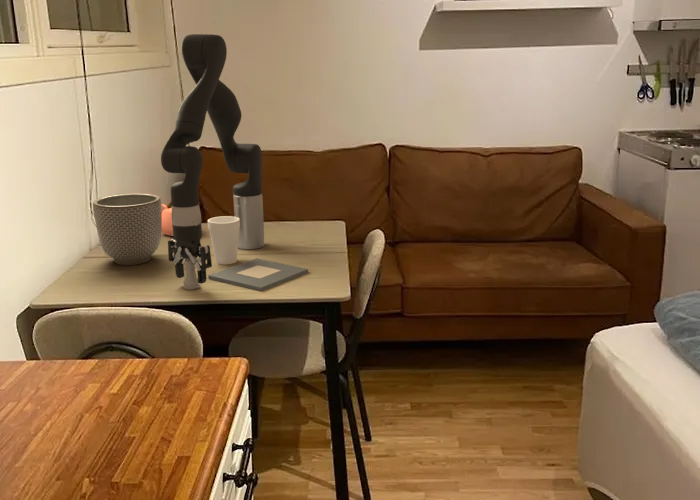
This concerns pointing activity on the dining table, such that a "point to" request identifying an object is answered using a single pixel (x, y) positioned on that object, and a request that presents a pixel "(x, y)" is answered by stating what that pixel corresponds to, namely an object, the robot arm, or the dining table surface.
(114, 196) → the planter
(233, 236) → the foam cup
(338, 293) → the dining table surface
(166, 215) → the teapot
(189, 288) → the rook chess piece
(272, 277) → the board
